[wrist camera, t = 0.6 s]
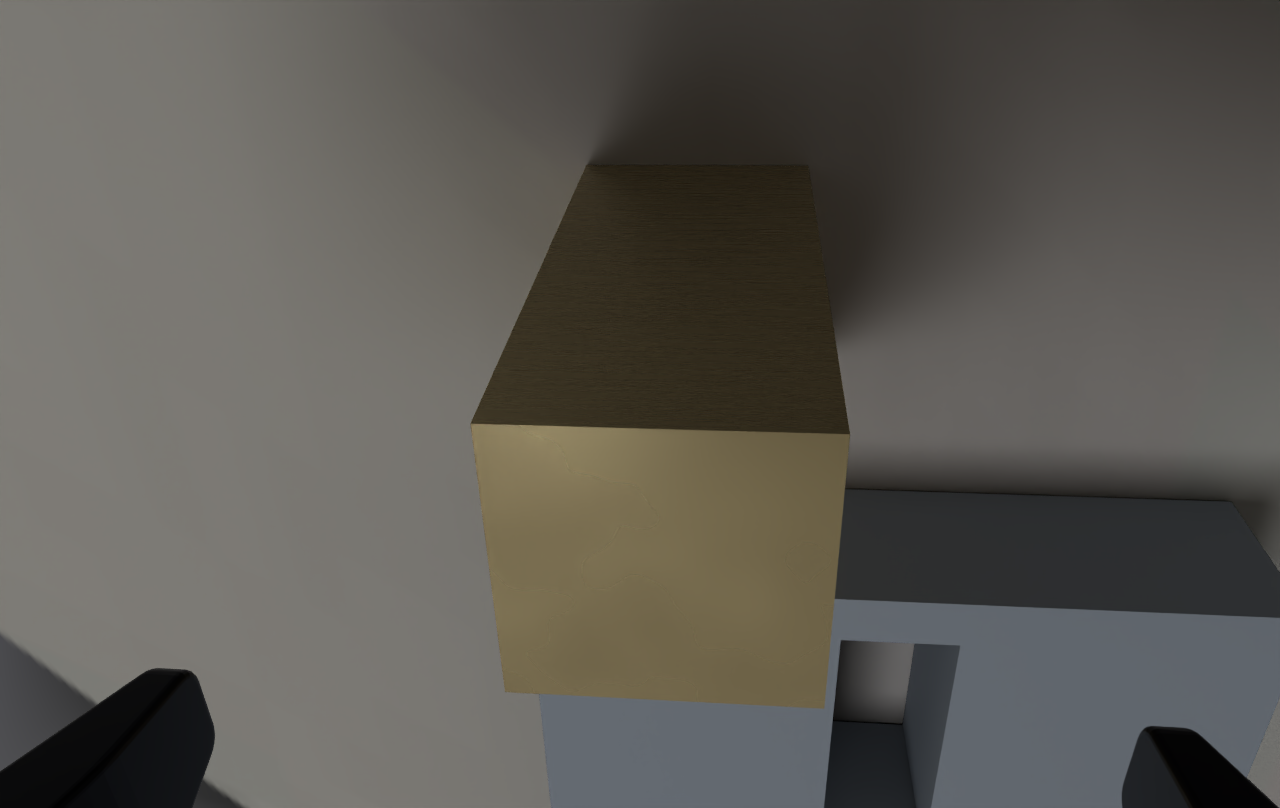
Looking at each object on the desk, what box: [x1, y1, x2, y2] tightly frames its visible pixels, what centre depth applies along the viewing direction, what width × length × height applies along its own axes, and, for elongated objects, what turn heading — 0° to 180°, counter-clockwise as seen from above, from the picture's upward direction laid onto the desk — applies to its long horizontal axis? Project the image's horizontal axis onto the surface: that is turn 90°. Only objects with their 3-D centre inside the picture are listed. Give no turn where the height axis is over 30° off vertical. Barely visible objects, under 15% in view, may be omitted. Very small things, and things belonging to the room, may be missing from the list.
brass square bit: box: [471, 165, 850, 709], centre depth 16 cm, size 4×4×9 cm
